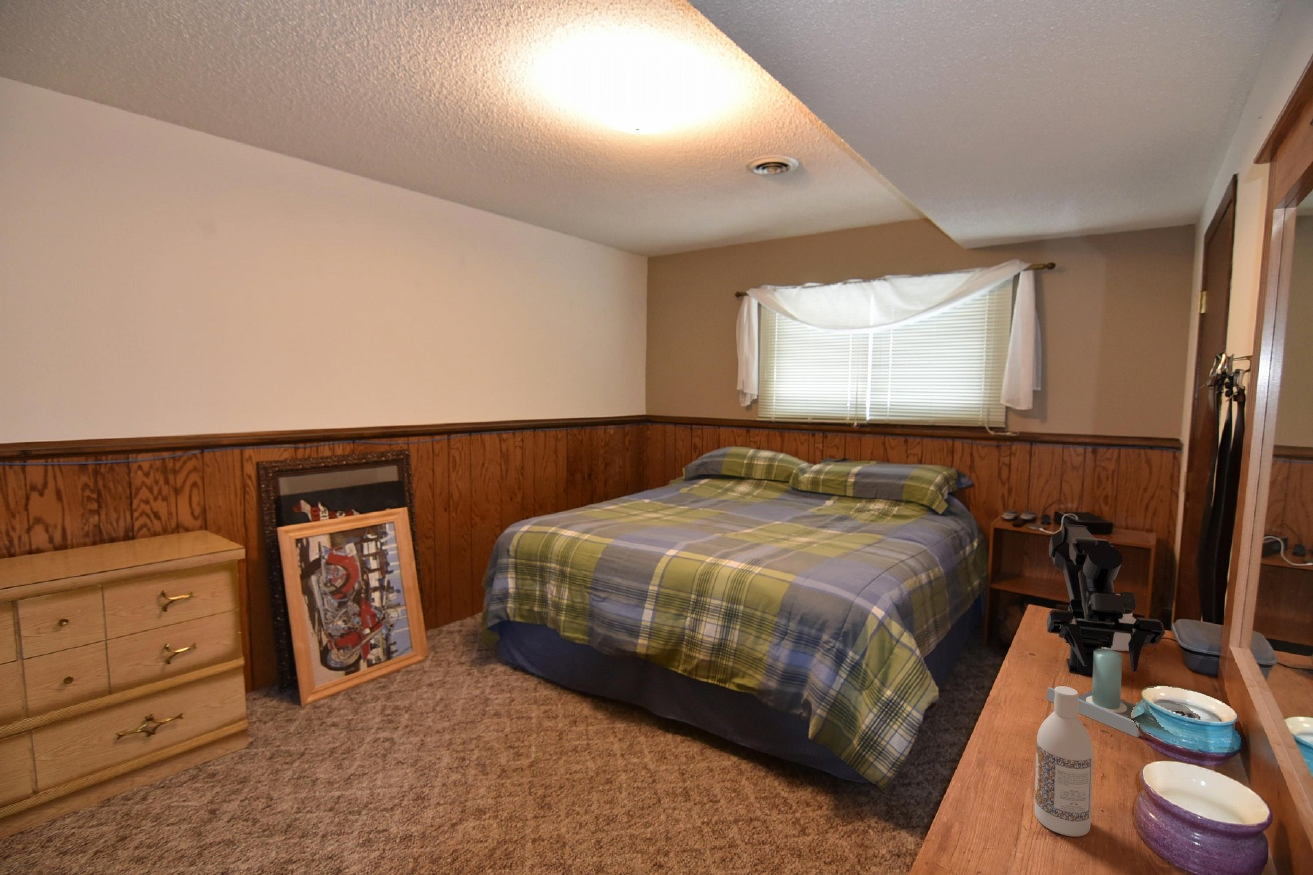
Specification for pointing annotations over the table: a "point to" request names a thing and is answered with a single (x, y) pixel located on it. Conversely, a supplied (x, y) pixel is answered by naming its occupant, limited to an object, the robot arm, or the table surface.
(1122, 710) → the mat
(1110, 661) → the teal canister
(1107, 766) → the table surface
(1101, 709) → the low wall
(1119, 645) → the medicine bottle
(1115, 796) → the table surface
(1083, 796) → the bath foam
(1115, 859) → the table surface
